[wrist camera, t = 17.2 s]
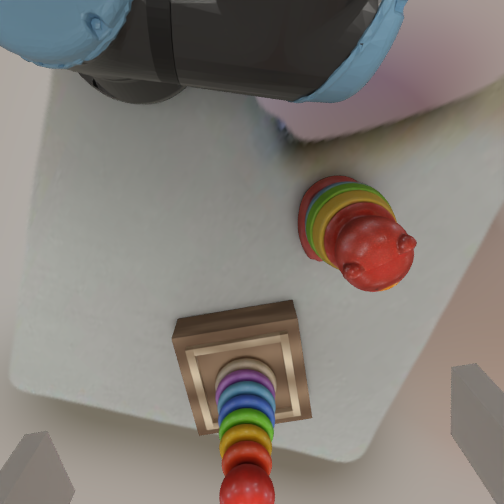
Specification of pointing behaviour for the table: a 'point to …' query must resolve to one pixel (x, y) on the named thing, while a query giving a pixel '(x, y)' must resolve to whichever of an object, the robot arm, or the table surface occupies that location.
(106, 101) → the table surface
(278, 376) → the plinth
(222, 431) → the stacking toy
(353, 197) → the stacking bear
